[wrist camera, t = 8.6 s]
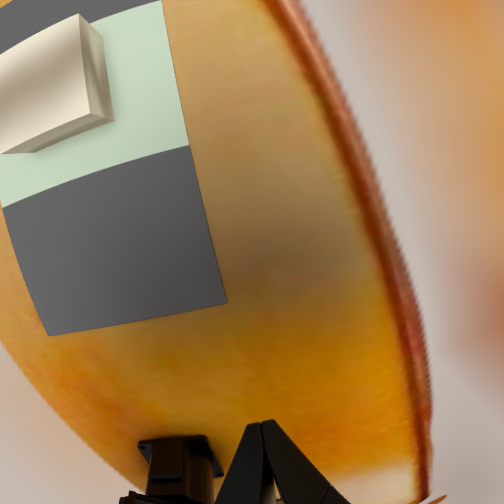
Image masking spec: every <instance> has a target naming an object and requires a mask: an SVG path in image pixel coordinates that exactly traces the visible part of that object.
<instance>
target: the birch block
mask: <svg viewBox="0 0 504 504" xmlns="http://www.w3.org/2000/svg"><path fill="white" fill-rule="evenodd" d="M114 121H115V117H114V111H113V106H112V100H111V94H110V88H109V82H108V76H107V69H106V62H105V54H104V47H103V38H102V35H101V34H100V33H99V32H98V31H96V30H95V29H94V28H93V27H92V26H91V25H90V24H89V23H88V22H87V21H86V20H85V19H84V18H83V17H82V16H81V15H80V14H79V13H78V14H76V15H73V16H71V17H69V18H67V19H65V20H62V21H60V22H58V23H56V24H54V25H52V26H50V27H48V28H46V29H44V30H42V31H40V32H38V33H37V34H35V35H33V36H31V37H29V38H27V39H26V40H24V41H22V42H20V43H19V44H17V45H15V46H14V47H12V48H10V49H9V50H7V51H5V52H4V53H2V54H1V55H0V154H16V153H35V152H37V151H40V150H42V149H44V148H46V147H49V146H51V145H53V144H56V143H58V142H61V141H63V140H65V139H68V138H70V137H73V136H75V135H78V134H81V133H83V132H86V131H89V130H91V129H94V128H97V127H100V126H102V125H105V124H108V123H111V122H114Z"/></svg>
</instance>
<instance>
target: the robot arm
mask: <svg viewBox="0 0 504 504" xmlns="http://www.w3.org/2000/svg"><path fill="white" fill-rule="evenodd" d="M137 447H138V449H139V451H140V452H141V453H142V455H143V456H144V458H145V459H146V460H147V462H148V463H149V470H148V480H147V486H146V493H145V495H142V494H138V493H136V492H134V491H129V495H128V496H126V497H121V498H120V500H119V504H276V495H275V483H276V486H277V489H278V491H279V494H280V497H281V499H282V502H283V504H351V503H349V502H348V501H347V500H346V499H345V498H344V497H343V496H342V495H341V494H340V493H339V492H338V491H337V490H336V489H335V488H334V487H333V486H331V484H330V483H329V482H328V480H327V479H326V478H325V477H324V476H323V475H322V474H321V473H320V472H319V471H318V470H317V468H316V467H315V466H314V465H313V464H312V463H311V462H310V461H309V460H308V458H307V457H306V456H305V455H304V454H303V453H302V452H301V450H300V449H299V448H298V447H297V446H296V445H295V444H294V442H293V441H292V440H291V439H290V438H289V436H288V435H287V434H286V433H285V432H284V431H283V429H282V428H281V427H280V426H279V425H278V423H277V422H276V421H275V420H274V419H270V420H265V421H262V422H261V423H260V422H255V423H250V424H248V425H247V426H246V428H245V431H244V433H243V436H242V438H241V441H240V443H239V446H238V448H237V450H236V453H235V455H234V458H233V460H232V463H231V465H230V467H229V470H228V472H227V475H226V477H225V479H224V482H223V484H222V486H221V489H220V491H219V493H218V496H217V498H216V500H215V502H214V483H213V478H219V477H223V476H224V470H223V468H222V466H221V464H220V463H219V461H218V459H217V457H216V455H215V453H214V451H213V449H212V447H211V445H210V443H209V441H208V439H207V437H205V436H194V437H186V438H176V439H166V440H153V441H140V442H138V446H137ZM274 480H275V483H274Z"/></svg>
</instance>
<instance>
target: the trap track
mask: <svg viewBox="0 0 504 504" xmlns="http://www.w3.org/2000/svg"><path fill="white" fill-rule="evenodd" d="M78 13H79V14H80V15H81V16H82V17H83V18H84V19H85V20H86V21H87V22H88V23H89V24H90V25H91V26H92V27H93V28H94V29H95V30H96V31H98V32H99V33H100V34H101V35H102V38H103V47H104V54H105V62H106V69H107V76H108V82H109V88H110V94H111V100H112V106H113V111H114V117H115V121H114V122H111V123H108V124H105V125H102V126H100V127H97V128H94V129H91V130H89V131H86V132H83V133H81V134H78V135H75V136H73V137H70V138H68V139H65V140H63V141H61V142H58V143H56V144H53V145H51V146H49V147H46V148H44V149H42V150H40V151H37V152H35V153H16V154H0V201H1V205H2V209H3V213H4V217H5V221H6V224H7V228H8V231H9V235H10V238H11V242H12V245H13V248H14V251H15V254H16V257H17V260H18V263H19V266H20V269H21V272H22V275H23V277H24V280H25V283H26V285H27V288H28V290H29V293H30V296H31V298H32V300H33V303H34V305H35V308H36V310H37V312H38V315H39V317H40V319H41V321H42V324H43V326H44V328H45V330H46V332H47V335H48V336H53V335H60V334H66V333H73V332H79V331H85V330H91V329H97V328H102V327H108V326H114V325H120V324H125V323H131V322H136V321H141V320H147V319H152V318H157V317H162V316H168V315H173V314H178V313H183V312H188V311H192V310H197V309H202V308H207V307H212V306H216V305H221V304H226V303H227V300H226V296H225V292H224V289H223V285H222V281H221V277H220V273H219V269H218V265H217V261H216V257H215V253H214V249H213V245H212V241H211V237H210V232H209V228H208V224H207V220H206V216H205V212H204V207H203V203H202V199H201V194H200V190H199V186H198V181H197V177H196V172H195V168H194V164H193V159H192V154H191V150H190V145H189V141H188V136H187V131H186V127H185V122H184V117H183V112H182V107H181V103H180V98H179V93H178V88H177V83H176V77H175V72H174V67H173V62H172V57H171V51H170V46H169V40H168V35H167V29H166V24H165V18H164V12H163V6H162V0H13V1H11V2H9V3H8V4H6V5H5V6H3V7H1V8H0V55H1V54H2V53H4V52H5V51H7V50H9V49H10V48H12V47H14V46H15V45H17V44H19V43H20V42H22V41H24V40H26V39H27V38H29V37H31V36H33V35H35V34H37V33H38V32H40V31H42V30H44V29H46V28H48V27H50V26H52V25H54V24H56V23H58V22H60V21H62V20H65V19H67V18H69V17H71V16H73V15H76V14H78Z"/></svg>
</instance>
